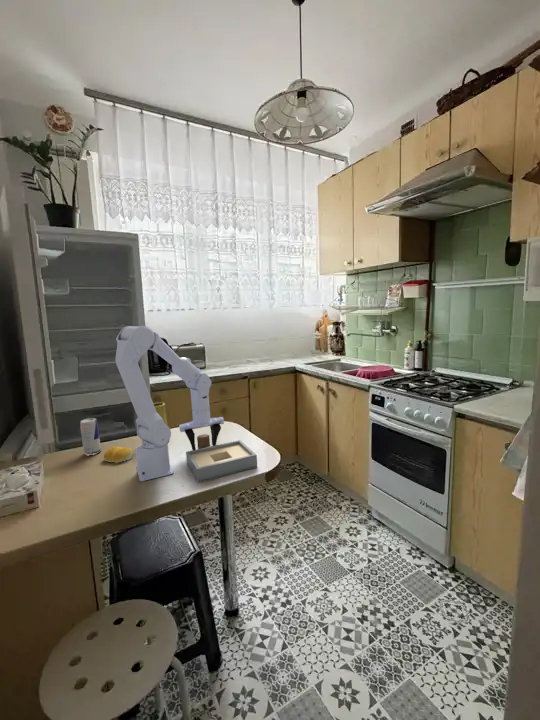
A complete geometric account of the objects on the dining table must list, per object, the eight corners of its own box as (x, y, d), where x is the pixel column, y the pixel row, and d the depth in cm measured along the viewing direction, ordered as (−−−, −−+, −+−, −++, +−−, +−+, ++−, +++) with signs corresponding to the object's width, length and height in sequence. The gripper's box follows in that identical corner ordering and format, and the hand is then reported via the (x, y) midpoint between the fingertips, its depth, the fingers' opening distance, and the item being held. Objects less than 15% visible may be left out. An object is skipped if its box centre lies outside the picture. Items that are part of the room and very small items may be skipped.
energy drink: (104, 450, 127) (100, 417, 125) (95, 456, 122) (91, 422, 120) (90, 450, 128) (85, 417, 126) (80, 456, 122) (76, 422, 121)
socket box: (198, 482, 99) (197, 469, 99) (187, 463, 112) (185, 451, 111) (257, 467, 107) (256, 454, 106) (240, 451, 120) (239, 440, 119)
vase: (152, 439, 135) (148, 403, 133) (169, 437, 136) (165, 401, 134) (152, 445, 129) (148, 407, 127) (170, 442, 131) (166, 405, 128)
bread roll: (122, 465, 114) (121, 453, 114) (99, 463, 117) (98, 451, 116) (139, 454, 122) (137, 443, 121) (117, 452, 124) (115, 442, 124)
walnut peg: (200, 457, 117) (198, 439, 116) (197, 452, 120) (195, 435, 119) (212, 454, 118) (210, 437, 118) (208, 450, 122) (207, 433, 121)
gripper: (181, 415, 110) (185, 457, 112) (225, 407, 117) (228, 447, 119) (176, 410, 117) (180, 449, 119) (219, 403, 123) (222, 440, 125)
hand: (204, 448), depth 119 cm, fingers open, 6 cm apart
